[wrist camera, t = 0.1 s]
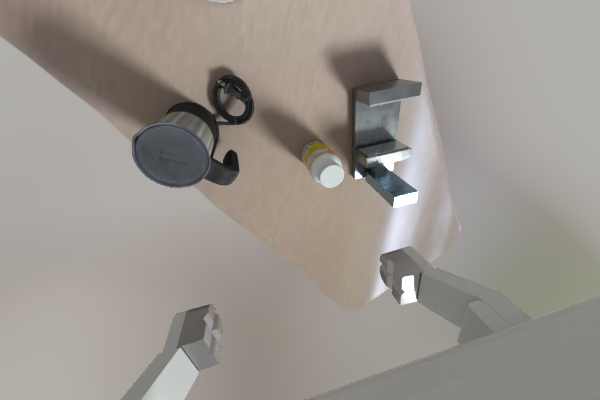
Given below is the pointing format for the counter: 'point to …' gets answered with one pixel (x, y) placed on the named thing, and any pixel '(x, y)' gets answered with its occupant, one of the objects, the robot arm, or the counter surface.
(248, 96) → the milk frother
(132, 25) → the counter surface
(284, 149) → the counter surface
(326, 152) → the supplement bottle
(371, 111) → the vise base
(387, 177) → the sliding jaw
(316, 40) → the counter surface
